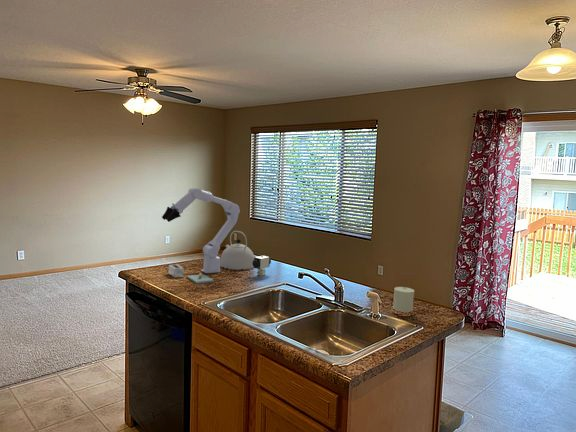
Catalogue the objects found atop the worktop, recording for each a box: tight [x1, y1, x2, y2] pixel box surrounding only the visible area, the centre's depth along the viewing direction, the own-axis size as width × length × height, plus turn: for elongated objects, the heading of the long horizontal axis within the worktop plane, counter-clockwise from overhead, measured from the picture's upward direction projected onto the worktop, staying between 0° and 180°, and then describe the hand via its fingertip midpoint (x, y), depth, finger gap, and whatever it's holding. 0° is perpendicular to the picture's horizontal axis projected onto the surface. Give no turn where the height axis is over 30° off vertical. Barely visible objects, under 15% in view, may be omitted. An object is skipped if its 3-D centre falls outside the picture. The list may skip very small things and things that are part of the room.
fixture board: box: [186, 273, 215, 285], centre depth 240 cm, size 10×14×1 cm
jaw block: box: [168, 263, 185, 279], centre depth 246 cm, size 5×10×5 cm, turn 34°
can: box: [392, 286, 415, 312], centre depth 202 cm, size 9×9×12 cm
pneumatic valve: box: [252, 255, 272, 277], centre depth 258 cm, size 6×12×12 cm, turn 141°
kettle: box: [219, 230, 255, 271], centre depth 279 cm, size 25×23×22 cm
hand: (165, 219), depth 240 cm, fingers open, 7 cm apart
